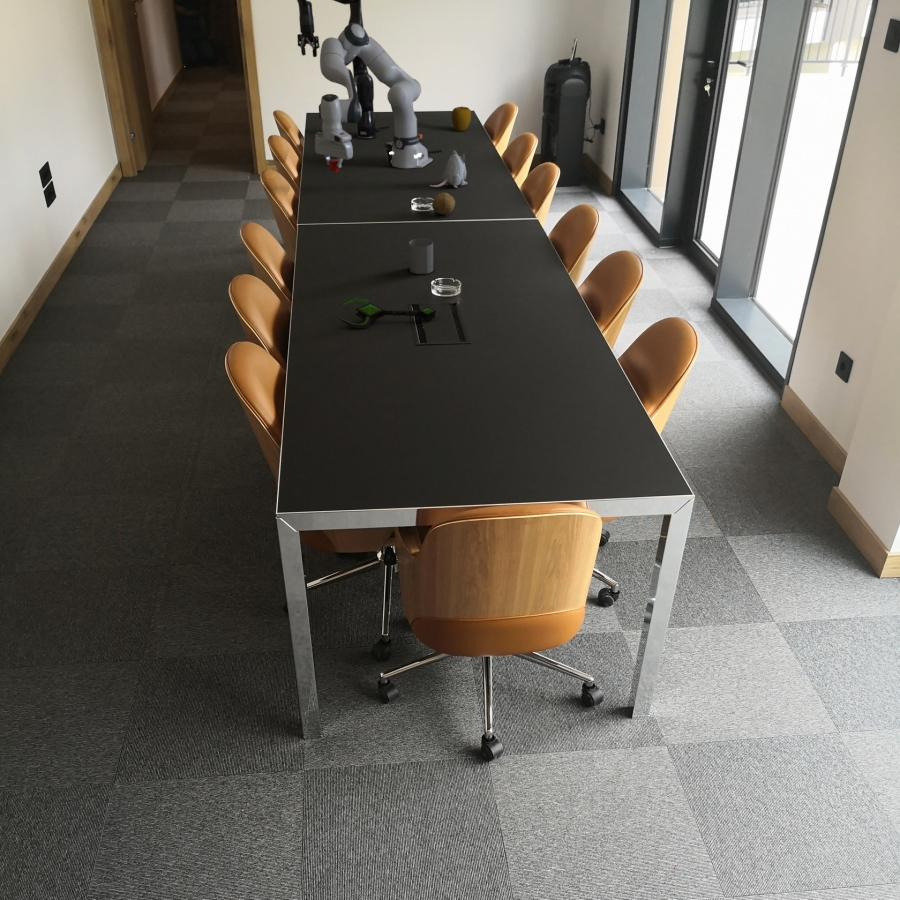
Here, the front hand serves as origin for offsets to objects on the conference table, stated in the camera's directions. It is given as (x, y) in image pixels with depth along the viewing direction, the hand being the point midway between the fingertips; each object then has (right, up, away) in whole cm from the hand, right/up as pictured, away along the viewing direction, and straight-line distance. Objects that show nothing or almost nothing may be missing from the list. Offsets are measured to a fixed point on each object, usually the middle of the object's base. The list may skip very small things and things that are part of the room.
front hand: (334, 166), depth 389 cm
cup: (+42, -63, -81) cm, 111 cm away
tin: (0, -1, +1) cm, 2 cm away
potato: (+49, -28, -26) cm, 62 cm away
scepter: (+33, -87, -117) cm, 149 cm away
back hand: (-25, +87, +83) cm, 123 cm away
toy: (+51, -8, +5) cm, 52 cm away
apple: (+58, +54, +102) cm, 129 cm away
